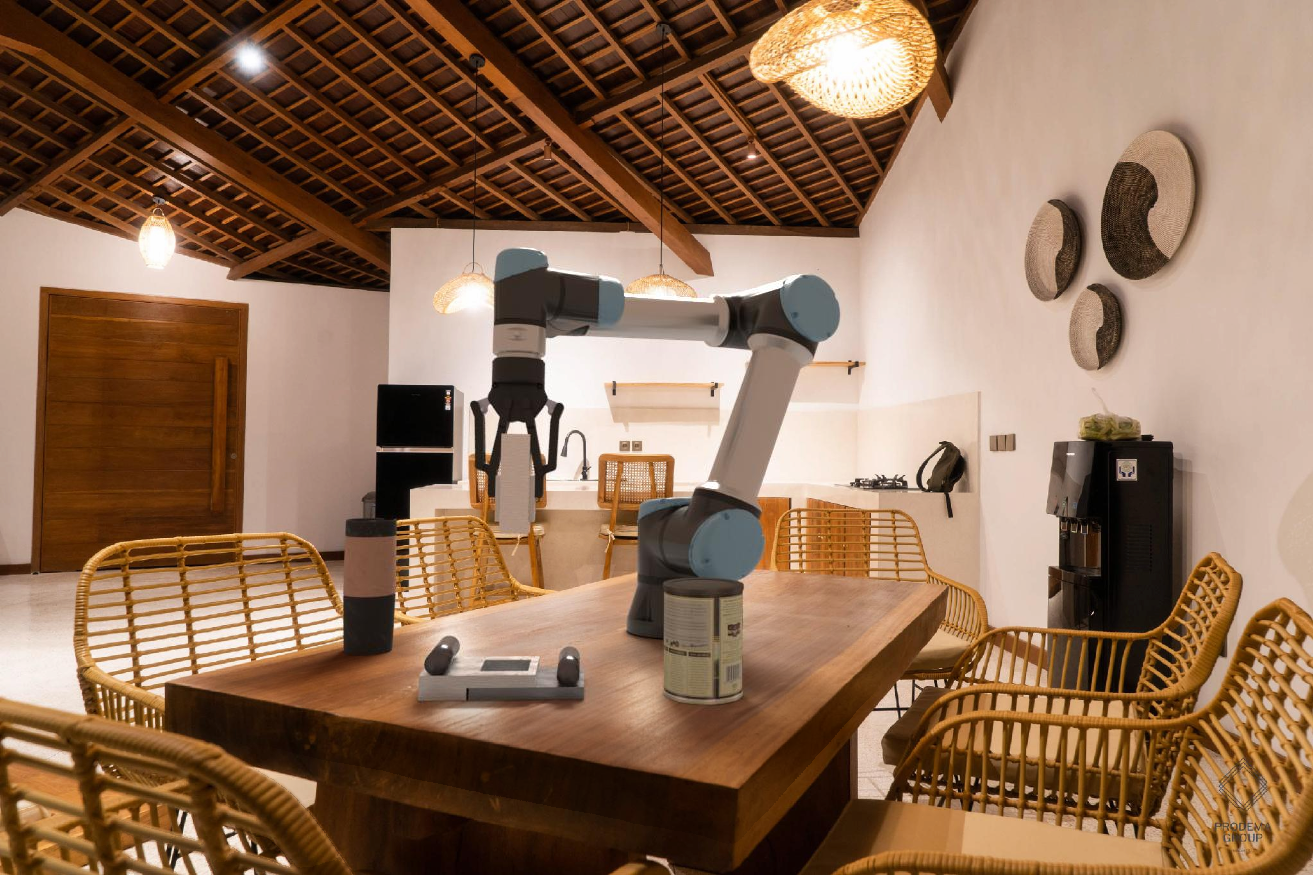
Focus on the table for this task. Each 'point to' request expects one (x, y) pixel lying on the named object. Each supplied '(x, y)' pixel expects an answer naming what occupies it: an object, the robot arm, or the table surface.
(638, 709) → the table surface
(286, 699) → the table surface
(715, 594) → the coffee can
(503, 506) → the pin
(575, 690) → the base with two rollers
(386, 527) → the travel mug
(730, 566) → the robot arm
